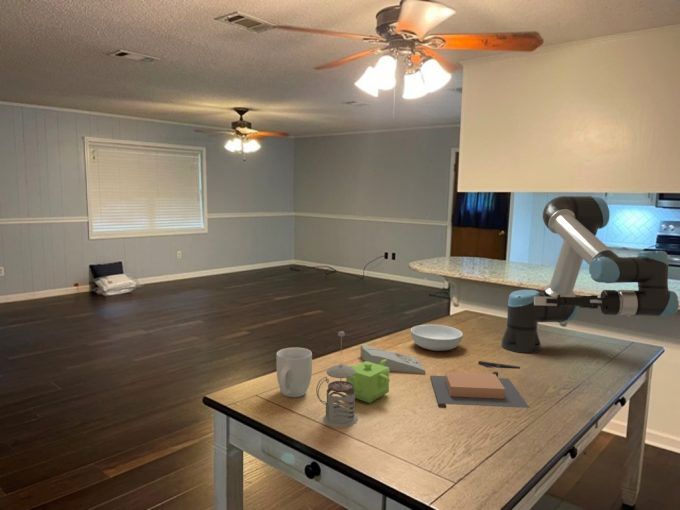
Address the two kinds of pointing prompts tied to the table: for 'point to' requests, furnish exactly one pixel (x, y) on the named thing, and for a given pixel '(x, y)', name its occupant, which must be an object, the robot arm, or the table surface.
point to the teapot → (370, 381)
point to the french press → (335, 412)
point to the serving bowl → (436, 337)
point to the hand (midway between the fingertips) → (534, 300)
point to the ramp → (392, 360)
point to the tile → (474, 385)
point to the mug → (294, 371)
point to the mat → (444, 398)
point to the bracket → (489, 365)
